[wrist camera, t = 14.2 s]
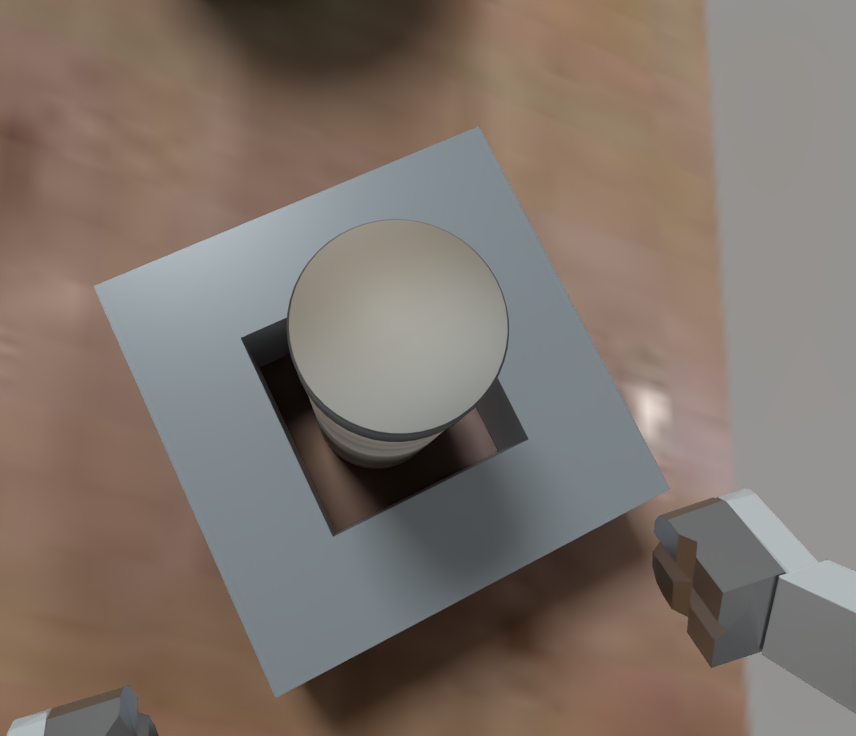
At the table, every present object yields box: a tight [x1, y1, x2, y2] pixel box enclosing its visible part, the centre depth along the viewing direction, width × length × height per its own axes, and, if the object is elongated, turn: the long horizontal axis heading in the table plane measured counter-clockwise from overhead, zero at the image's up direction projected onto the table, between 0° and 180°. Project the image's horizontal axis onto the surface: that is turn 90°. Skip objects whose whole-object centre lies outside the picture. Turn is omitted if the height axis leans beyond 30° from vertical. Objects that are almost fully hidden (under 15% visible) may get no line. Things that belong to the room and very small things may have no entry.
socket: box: [94, 126, 670, 698], centre depth 24 cm, size 12×12×4 cm
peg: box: [287, 219, 509, 469], centre depth 20 cm, size 4×4×12 cm
